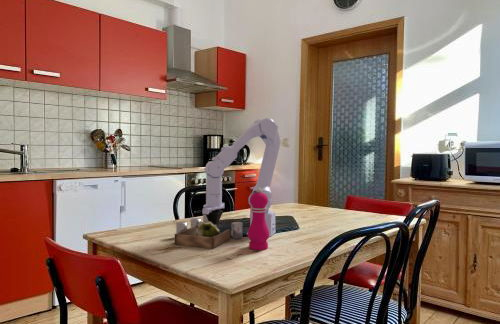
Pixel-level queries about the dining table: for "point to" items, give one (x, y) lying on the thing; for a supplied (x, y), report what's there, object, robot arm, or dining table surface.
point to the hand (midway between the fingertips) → (213, 230)
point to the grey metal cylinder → (205, 218)
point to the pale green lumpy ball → (207, 229)
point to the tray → (200, 239)
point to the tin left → (237, 230)
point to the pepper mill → (258, 222)
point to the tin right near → (195, 223)
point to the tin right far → (181, 226)
